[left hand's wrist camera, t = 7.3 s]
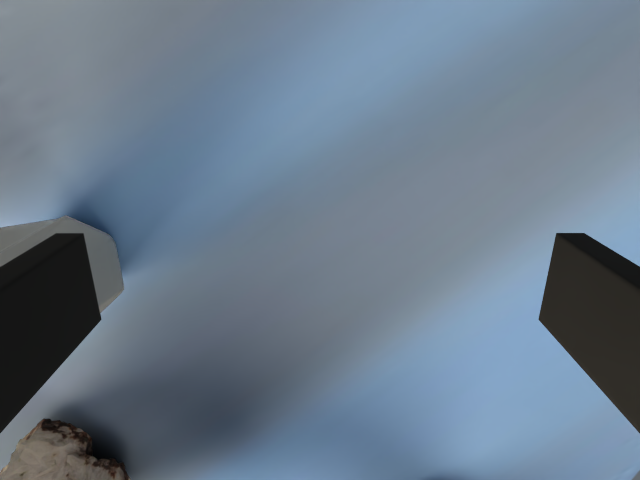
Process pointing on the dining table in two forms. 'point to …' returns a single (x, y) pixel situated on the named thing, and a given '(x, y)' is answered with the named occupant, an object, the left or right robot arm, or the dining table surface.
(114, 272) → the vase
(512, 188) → the dining table surface
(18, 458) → the rock
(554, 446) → the dining table surface
